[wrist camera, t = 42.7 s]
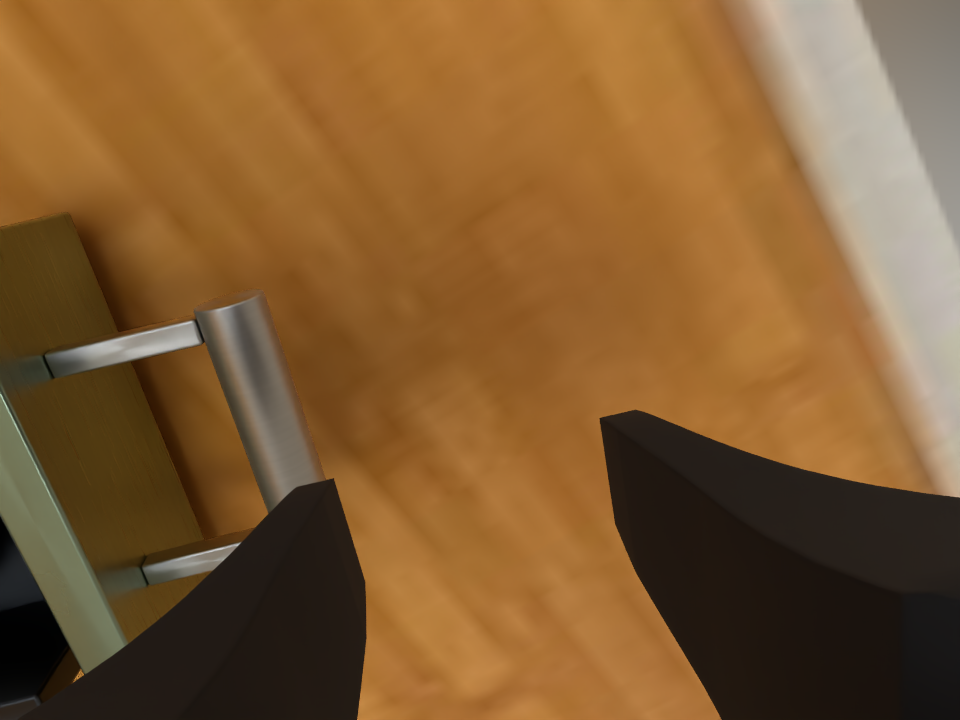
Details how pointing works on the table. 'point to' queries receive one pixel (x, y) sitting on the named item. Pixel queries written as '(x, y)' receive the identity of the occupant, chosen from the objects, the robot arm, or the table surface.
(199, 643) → the robot arm
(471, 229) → the table surface
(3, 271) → the drawer
